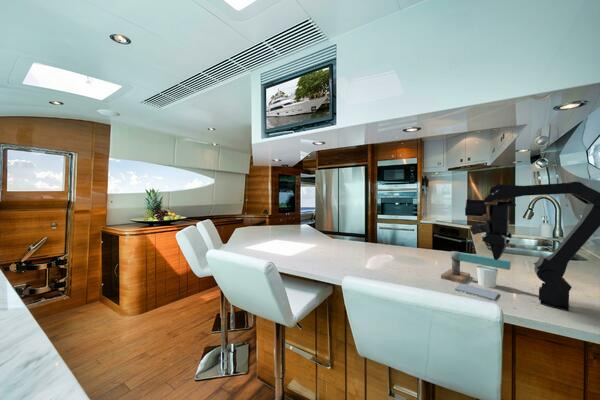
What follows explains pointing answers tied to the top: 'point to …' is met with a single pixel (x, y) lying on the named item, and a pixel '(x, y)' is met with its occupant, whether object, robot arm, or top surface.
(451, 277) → the stand
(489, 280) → the white tapered cup
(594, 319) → the top surface
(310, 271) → the top surface
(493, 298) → the slate mat
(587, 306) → the top surface
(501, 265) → the bar
